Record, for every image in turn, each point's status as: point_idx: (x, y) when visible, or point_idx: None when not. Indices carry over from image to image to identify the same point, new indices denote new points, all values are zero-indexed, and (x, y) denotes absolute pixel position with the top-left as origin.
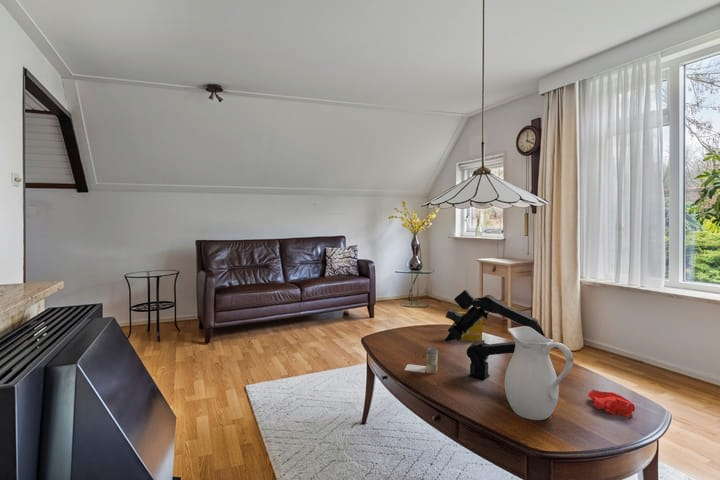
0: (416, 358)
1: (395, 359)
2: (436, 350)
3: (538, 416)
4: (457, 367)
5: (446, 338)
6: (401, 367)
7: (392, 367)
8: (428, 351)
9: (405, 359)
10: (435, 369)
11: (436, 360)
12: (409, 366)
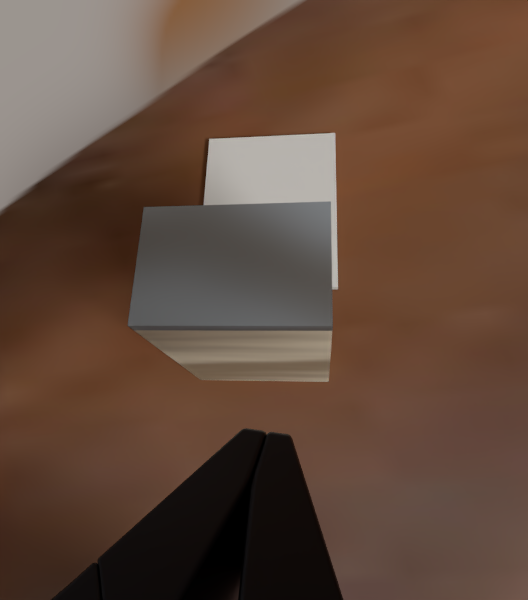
0: (518, 166)
1: (416, 36)
2: (251, 320)
3: None
4: (443, 596)
5: (194, 484)
6: (264, 111)
7: (245, 61)
8: (182, 225)
9: (449, 96)
10: (189, 370)
11: (236, 357)
12: (287, 156)
